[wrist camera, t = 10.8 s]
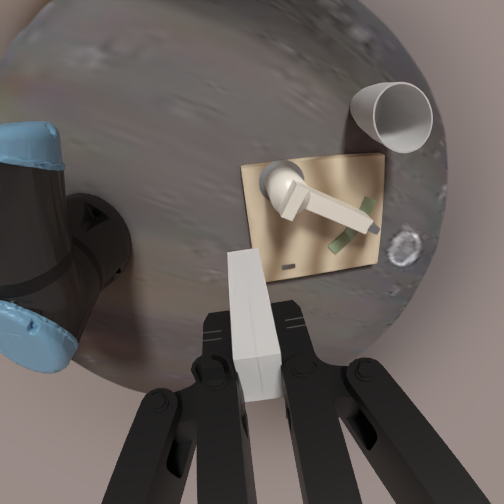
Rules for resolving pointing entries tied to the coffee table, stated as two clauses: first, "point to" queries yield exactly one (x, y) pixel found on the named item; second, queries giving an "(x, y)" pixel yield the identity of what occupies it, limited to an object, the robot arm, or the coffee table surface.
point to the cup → (393, 115)
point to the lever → (311, 201)
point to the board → (316, 216)
